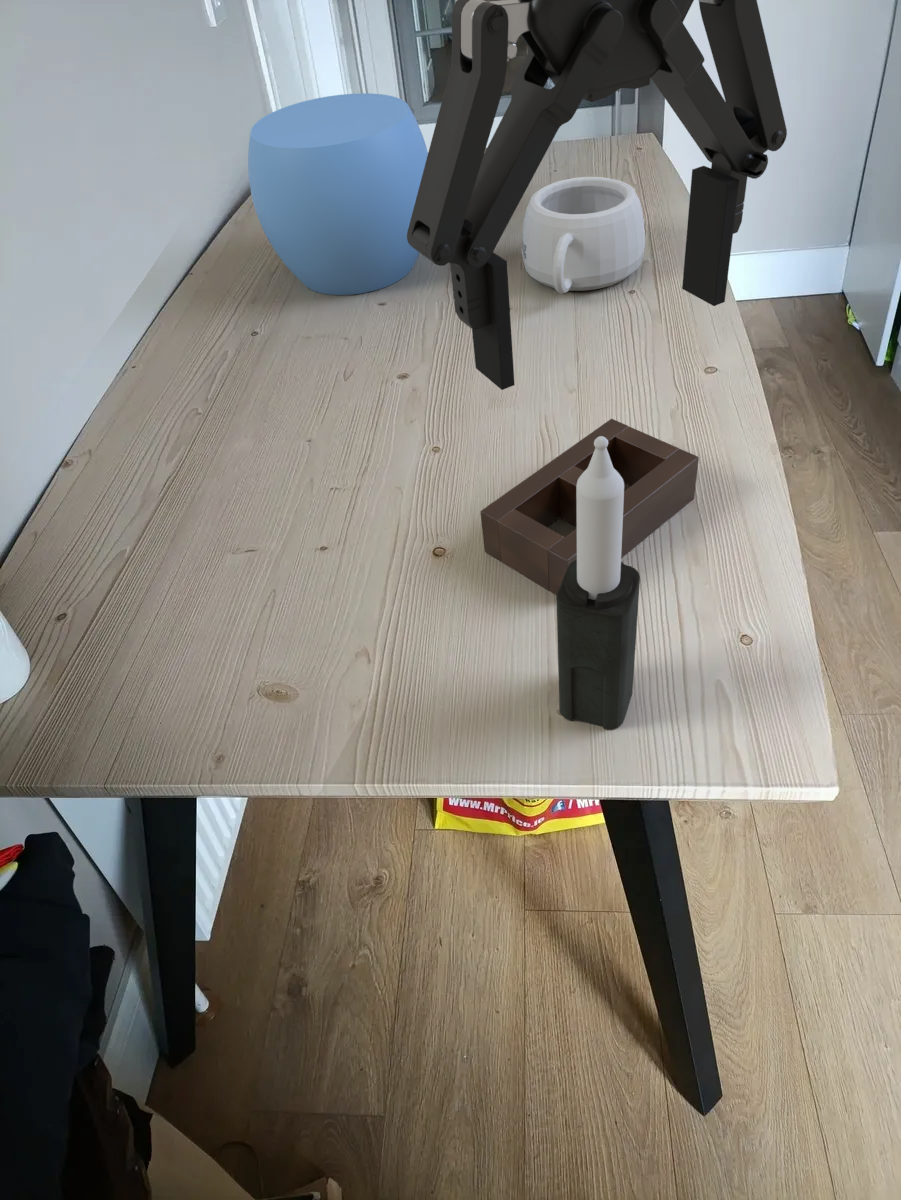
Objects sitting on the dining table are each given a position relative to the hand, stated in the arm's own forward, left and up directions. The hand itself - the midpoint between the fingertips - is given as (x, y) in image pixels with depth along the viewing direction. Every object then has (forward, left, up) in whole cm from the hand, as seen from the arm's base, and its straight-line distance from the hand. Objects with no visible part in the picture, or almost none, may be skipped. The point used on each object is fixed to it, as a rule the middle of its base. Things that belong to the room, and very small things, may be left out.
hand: (602, 335), depth 47 cm
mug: (+49, -55, -32) cm, 80 cm away
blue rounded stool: (+78, -39, -32) cm, 93 cm away
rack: (+14, -16, -31) cm, 38 cm away
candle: (0, 0, -32) cm, 32 cm away
